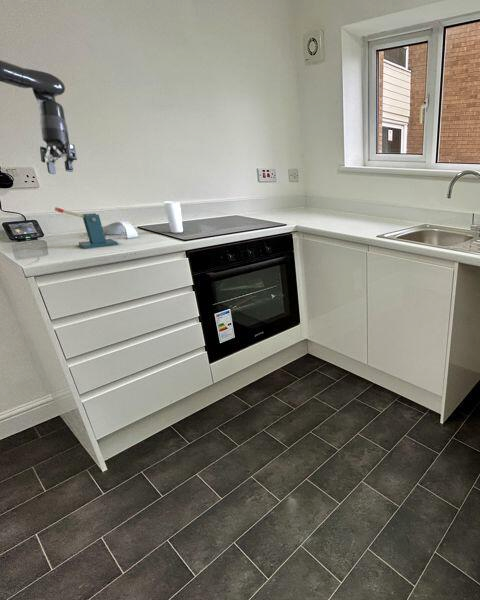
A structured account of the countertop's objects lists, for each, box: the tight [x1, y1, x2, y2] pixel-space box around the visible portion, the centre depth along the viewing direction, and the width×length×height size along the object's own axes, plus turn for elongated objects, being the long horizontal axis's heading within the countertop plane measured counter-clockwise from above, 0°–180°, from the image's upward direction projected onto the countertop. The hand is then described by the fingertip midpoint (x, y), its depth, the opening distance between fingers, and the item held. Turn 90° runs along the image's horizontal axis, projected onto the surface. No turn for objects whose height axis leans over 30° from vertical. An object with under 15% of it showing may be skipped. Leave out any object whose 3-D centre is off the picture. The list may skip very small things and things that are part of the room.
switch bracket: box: [77, 212, 119, 249], centre depth 147 cm, size 11×9×13 cm
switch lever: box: [54, 207, 85, 219], centre depth 141 cm, size 12×6×2 cm, turn 143°
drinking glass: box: [163, 201, 184, 234], centre depth 177 cm, size 7×7×15 cm
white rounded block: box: [102, 220, 139, 239], centre depth 167 cm, size 24×12×7 cm, turn 61°
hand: (60, 172), depth 138 cm, fingers open, 8 cm apart
